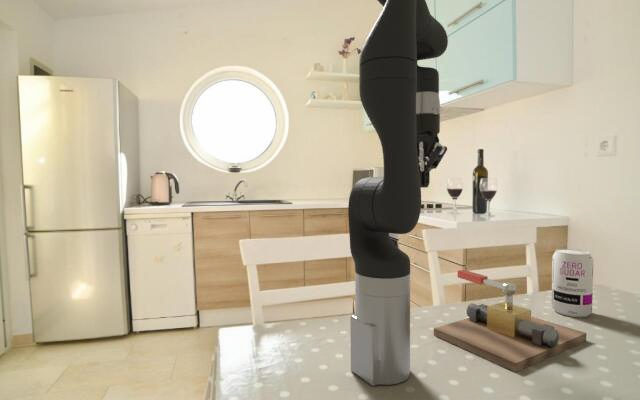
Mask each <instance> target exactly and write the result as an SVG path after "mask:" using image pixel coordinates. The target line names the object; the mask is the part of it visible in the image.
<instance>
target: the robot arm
mask: <svg viewBox="0 0 640 400" xmlns="http://www.w3.org/2000/svg"><path fill="white" fill-rule="evenodd" d="M377 1H378V2H379V4H380V5H381V6H382V7H383V8H382V10H381V12H380V14H379V16H378V18H377V19H376V21H375V23H374V25H373V26H372V28H371V30H370V32H369V34H368V36H367V37H366V40H365V41H364V43H363V46H362V49H361V52H360V56H359V63H358V65H359V66H358V67H359V70H358V71H359V72H358V73H359V75H358V76H359V77H358V80H359V86H358V87H359V90H358V91H359V98H360V103H361V106H362V107H363V109H364V112H365V113H366V115H367V117H368V120H369V121H370V122H371V124H372V126H373V128H374V130H375V132H376V134H377V136H378V139H379V141H380V145H381V149H382V159H383V176H373V177H371V176H370V177H363V178H361V179H359V180H358V181H357V182H355V184H354V185H353V187H352V189H351V191H350V194H349V197H348V207H347V209H348V212H347V213H348V214H347V216H348V233H349V234H348V235H349V247H350V248H349V249H350V254H351V257H352V259H353V262H354V271H355V272H354V273H355V274H354V276H355V278H354V279H355V280H354V282H355V283H354V285H355V286H354V287H355V288H354V289H355V290H354V292H355V293H354V295H355V297H354V299H355V300H354V301H355V303H354V305H355V306H354V307H355V309H354V315H351V316H350V322H349V323H350V371H351V372H353V373H354V374H355V375H357V376H358V377H359V378H361V379H362V380H364V381H365V382H366V383H368V384H369V385H371V386H373V387H374V386H378V385H397V384H401V383H403V382H405V381H407V379H409V378H410V375H411V259H410V256H409V255H408V254H407V253H406V252H405V251H403V250H401V249H400V248H399V247H398V246H396V245H395V244H394V242H393V241H392V240H391V237H390V234H396V235H406V234H409V233H411V232H412V231H413V230H414V229H415V227H416V226H417V224H418V222H419V219H420V215H421V209H422V189H423V188H429V186H430V172H431V171H432V170H436V169H437V168H438V166H439V164H440V163H441V161H442V160H443V158H444V156H445V154H446V153H447V151H448V147H447V146H444V145H442V144H441V143H440V139H439V135H438V134H440V132H441V103H440V102H441V100H440V94H439V93H440V75H439V71H438V69H436V68H434V67H430V66H429V67H428V66H420V65H418V61H423V60H430V59H436V58H439V57H441V56H442V55H444V53H445V52H446V50H447V48H448V45H449V37H448V34H447V31H446V30H445V28H444V26H443V25H442V24H441V22H440V21H438V20H437V19H436V18H435V17H434V16H433V15H432V14H431V12H430V9H429V7H428V3H427V1H426V0H377Z"/></svg>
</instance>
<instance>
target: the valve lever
mask: <svg viewBox="0 0 640 400" xmlns="http://www.w3.org/2000/svg"><path fill="white" fill-rule="evenodd" d="M457 278H459V279H462V280H465V281H469V282H472V283H475V284H478V285H488V286H491V287H495V288H498V289H501V292H502V293H504V294H505V293H508V294H513V295H515V294H517V284H516V283H513V282H499V281H496V280H493V279H490V278H489V277H488V276H487V275H483V274H481V273H476V272H473V271H470V270H466V269H459V270H457Z"/></svg>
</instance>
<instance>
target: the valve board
mask: <svg viewBox="0 0 640 400" xmlns="http://www.w3.org/2000/svg"><path fill="white" fill-rule="evenodd" d="M531 322H533V323H536V324H539V325H544V324H548V325H551V326H554V329H555V330H557V331H558V333H559V340H558V343H557V345H556V346H555V347H551V346H548V345H545V346H543V347H539V346H536V345H533V344H532V340H531V339H528V338H526V337H523V336H521V337H518V338H515V339H513V338H511V337H508V336H505V335H503V334H500V333H497V332H495V331H492V330H489V329H487V323H484V322H478V323H474V322H471V321H469V317H467V318H465V319H461V320H457V321H454V322H450V323H447V324H444V325H440V326H436V327H434V328H433V336H435V337H437V338H439V339H441V340H443V341H446V342H448V343H451V344H452V345H454V346H457V347H460V348H461V349H463V350H466V351H468V352H470V353H472V354H474V355H477V356H479V357H482V358H483V359H486V360H488V361H491V362H493V363H494V364H497V365H499V366H501V367H503V368H506V369H508V370H510V371H512V372H515V373H517V372H520V371H521V370H523V369H525V368H528V367H530V366H532V365H535V364H536V363H539V362H541V361H543V360H545V359H548V358H551V357H552V356H554V355H556V354H559V353H562V352H564V351H566V350H568V349H570V348H572V347H575V346H577V345H579V344H582V343H584V342H586V341H587V333H586V332H584V331H580V330H578V329H574V328H571V327H568V326H565V325H560V324H557V323H554V322H550V321H548V320H545V319H541V318H539V317H535V316H532V315H531Z"/></svg>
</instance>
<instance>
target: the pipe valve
mask: <svg viewBox="0 0 640 400" xmlns="http://www.w3.org/2000/svg"><path fill="white" fill-rule="evenodd" d="M504 299H505V300H504V301H503V302H498V303H495V304H492V305H486V304H484V303H481V304H476V303H473V302H472V303H470V304H468V306H467V308H466V315H467V318H469V321H471V322H474V323H478V322H484V323H487V329H489V330H492V331H495V332H497V333H500V334H503V335H505V336H508V337H511V338H513V339H515V338H518V337H521V336H523V337H526V338H528V339H531V340H532V344H533V345H536V346H539V347H543V346H545V345H548V346H551V347H555V346H556V345H557V343H558V340H559V333H558V331H557V330H555V329H554V326H551V325H548V324H544V325H539V324H536V323H533V322H531V316H532V309H530V308H529V309H528V308H526V307H522V306H519V305H515V304H514V294H508V293H504Z"/></svg>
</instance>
